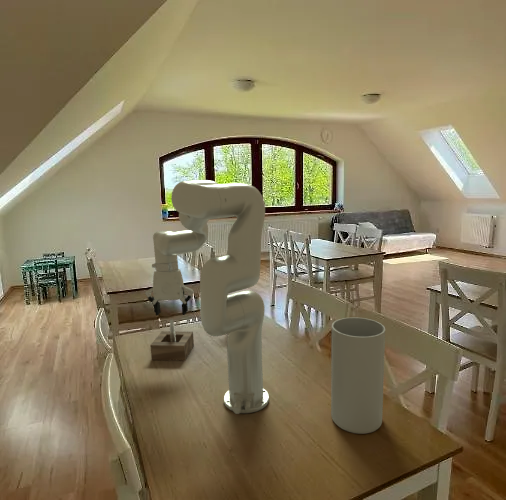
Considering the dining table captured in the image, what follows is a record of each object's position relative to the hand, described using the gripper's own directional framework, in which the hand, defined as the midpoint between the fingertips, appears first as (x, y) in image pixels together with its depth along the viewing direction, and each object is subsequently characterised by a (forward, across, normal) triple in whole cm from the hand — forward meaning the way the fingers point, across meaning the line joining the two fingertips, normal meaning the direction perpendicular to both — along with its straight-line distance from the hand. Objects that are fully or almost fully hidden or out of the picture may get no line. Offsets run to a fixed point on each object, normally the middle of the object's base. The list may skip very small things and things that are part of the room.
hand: (171, 313), depth 136 cm
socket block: (+15, -1, +1) cm, 15 cm away
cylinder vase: (+17, +58, -35) cm, 70 cm away
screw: (+15, 0, +1) cm, 15 cm away
